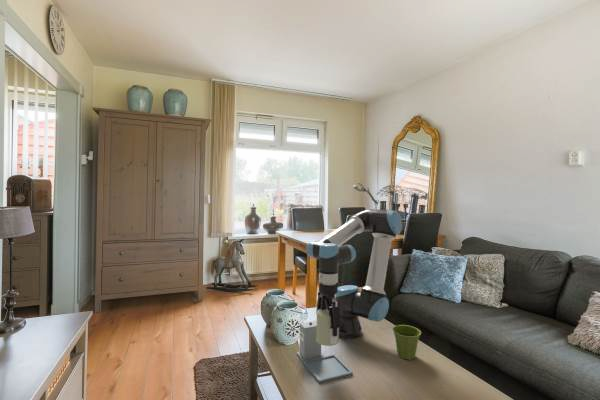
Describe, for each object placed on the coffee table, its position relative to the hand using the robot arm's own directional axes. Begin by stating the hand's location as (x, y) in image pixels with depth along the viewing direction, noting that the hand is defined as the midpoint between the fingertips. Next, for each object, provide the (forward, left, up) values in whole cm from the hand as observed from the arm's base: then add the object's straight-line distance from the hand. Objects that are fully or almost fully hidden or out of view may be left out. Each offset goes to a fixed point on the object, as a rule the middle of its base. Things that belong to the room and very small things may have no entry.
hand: (327, 338), depth 127 cm
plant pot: (-37, +4, -13) cm, 40 cm away
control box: (+2, -12, -13) cm, 18 cm away
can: (0, 0, -1) cm, 1 cm away
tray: (0, 0, -13) cm, 13 cm away
